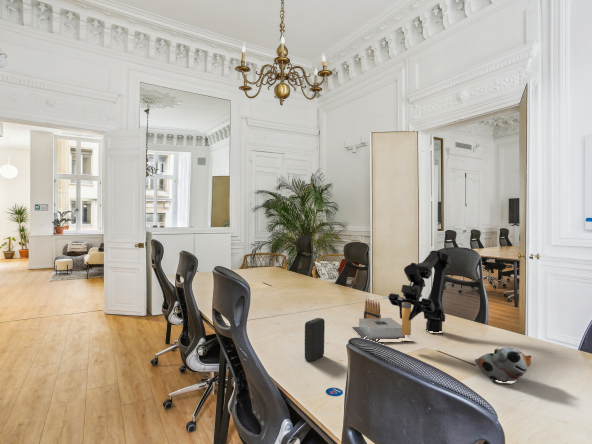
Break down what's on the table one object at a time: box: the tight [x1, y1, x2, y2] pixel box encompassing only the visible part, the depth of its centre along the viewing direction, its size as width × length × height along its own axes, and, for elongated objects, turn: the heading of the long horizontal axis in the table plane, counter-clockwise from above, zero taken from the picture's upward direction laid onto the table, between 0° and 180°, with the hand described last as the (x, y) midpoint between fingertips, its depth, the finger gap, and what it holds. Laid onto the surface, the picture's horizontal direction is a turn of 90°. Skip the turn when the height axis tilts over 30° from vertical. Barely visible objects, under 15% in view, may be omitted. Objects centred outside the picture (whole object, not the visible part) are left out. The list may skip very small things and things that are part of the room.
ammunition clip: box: [363, 298, 382, 318], centre depth 182 cm, size 11×2×12 cm, turn 35°
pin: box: [401, 302, 412, 336], centre depth 142 cm, size 4×4×13 cm
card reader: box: [304, 317, 326, 362], centre depth 133 cm, size 9×4×15 cm, turn 141°
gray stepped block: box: [351, 317, 405, 344], centre depth 162 cm, size 22×22×6 cm
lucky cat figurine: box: [474, 347, 533, 382], centre depth 117 cm, size 15×12×14 cm
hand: (405, 319), depth 141 cm, fingers closed on pin, 4 cm apart
